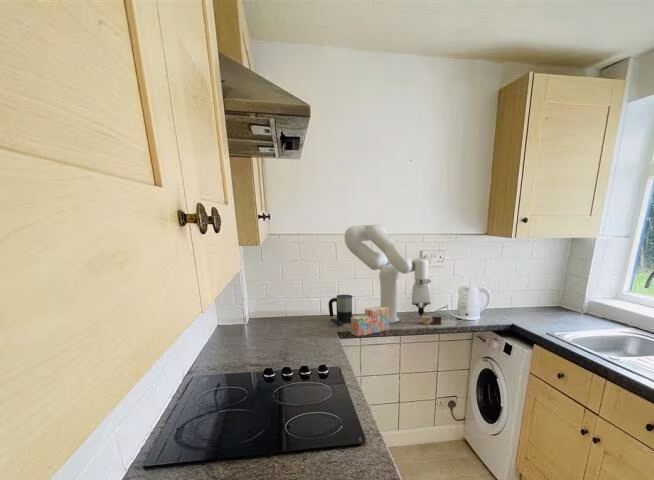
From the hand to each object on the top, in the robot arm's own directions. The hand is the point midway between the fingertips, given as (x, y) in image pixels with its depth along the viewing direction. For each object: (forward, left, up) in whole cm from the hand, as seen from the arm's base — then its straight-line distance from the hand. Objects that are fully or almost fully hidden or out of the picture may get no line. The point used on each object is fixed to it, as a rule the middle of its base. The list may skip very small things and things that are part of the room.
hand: (420, 314), depth 232 cm
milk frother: (-45, +1, -5) cm, 46 cm away
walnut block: (+9, 0, -5) cm, 11 cm away
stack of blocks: (-28, -18, -5) cm, 34 cm away
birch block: (+3, 0, -5) cm, 6 cm away
